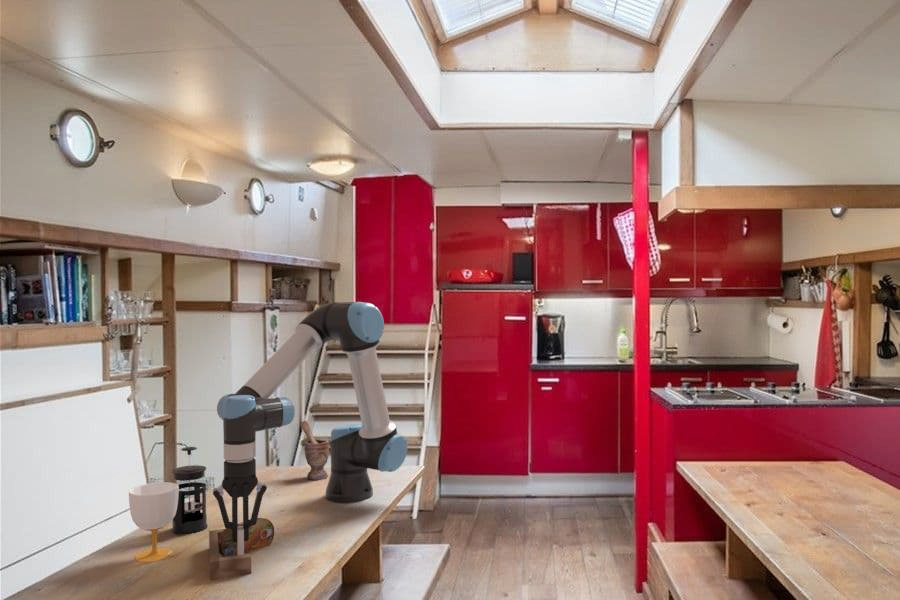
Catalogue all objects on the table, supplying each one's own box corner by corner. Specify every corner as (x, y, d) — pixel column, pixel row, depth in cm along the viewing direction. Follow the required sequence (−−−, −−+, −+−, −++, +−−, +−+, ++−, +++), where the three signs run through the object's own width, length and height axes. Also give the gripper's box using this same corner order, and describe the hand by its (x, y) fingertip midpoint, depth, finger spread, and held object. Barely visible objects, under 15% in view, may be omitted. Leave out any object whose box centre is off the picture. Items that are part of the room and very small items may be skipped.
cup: (147, 568, 161) (146, 498, 161) (119, 558, 167) (118, 490, 167) (189, 552, 171) (188, 486, 171) (161, 544, 177) (160, 479, 177)
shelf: (245, 545, 176) (245, 526, 176) (251, 578, 155) (251, 556, 155) (209, 550, 173) (209, 530, 173) (210, 584, 152) (210, 562, 152)
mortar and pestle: (293, 479, 240) (292, 423, 239) (303, 473, 248) (303, 419, 248) (323, 481, 237) (322, 424, 237) (332, 474, 245) (332, 420, 245)
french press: (183, 522, 195) (183, 443, 195) (214, 523, 194) (213, 443, 194) (161, 536, 183) (161, 452, 183) (194, 537, 182) (193, 453, 182)
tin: (222, 565, 163) (222, 530, 163) (216, 562, 165) (215, 528, 165) (275, 547, 175) (275, 515, 175) (268, 544, 177) (268, 512, 177)
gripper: (265, 453, 171) (266, 545, 171) (211, 457, 166) (212, 552, 166) (268, 460, 164) (269, 556, 164) (211, 465, 159) (212, 564, 159)
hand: (240, 554), depth 165 cm, fingers closed
